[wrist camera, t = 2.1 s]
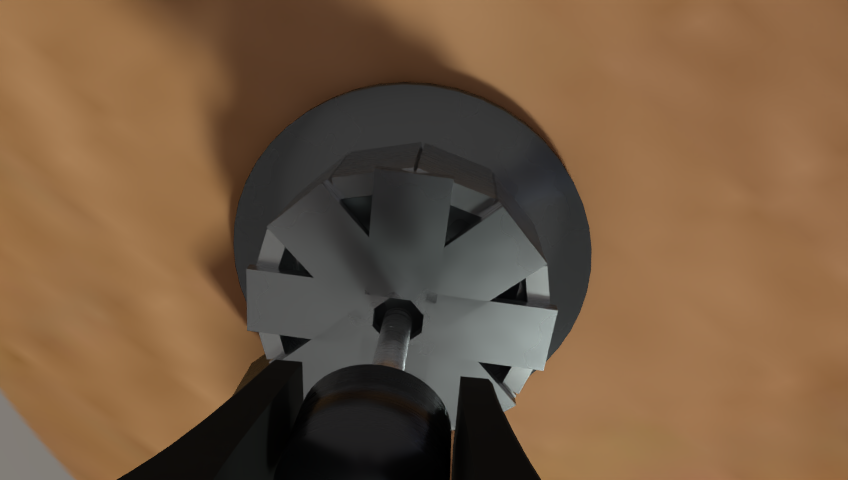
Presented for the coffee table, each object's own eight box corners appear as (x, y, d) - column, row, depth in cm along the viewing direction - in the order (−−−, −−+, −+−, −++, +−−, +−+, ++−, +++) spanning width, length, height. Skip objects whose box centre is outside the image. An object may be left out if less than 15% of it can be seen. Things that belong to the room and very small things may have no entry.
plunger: (406, 246, 15) (369, 396, 9) (477, 329, 16) (484, 515, 10) (319, 308, 16) (236, 479, 10) (391, 383, 17) (352, 581, 11)
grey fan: (441, -6, 16) (433, -8, 12) (655, 292, 19) (699, 361, 16) (155, 241, 20) (84, 295, 16) (374, 456, 23) (356, 542, 19)
